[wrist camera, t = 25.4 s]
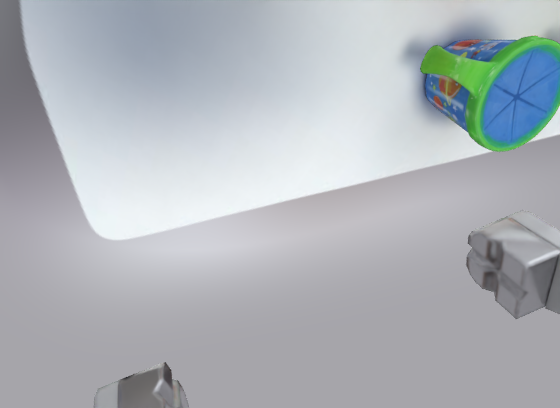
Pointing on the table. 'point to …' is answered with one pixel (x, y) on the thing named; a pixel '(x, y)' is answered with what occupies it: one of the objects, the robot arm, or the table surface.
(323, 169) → the table surface
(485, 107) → the snack cup
